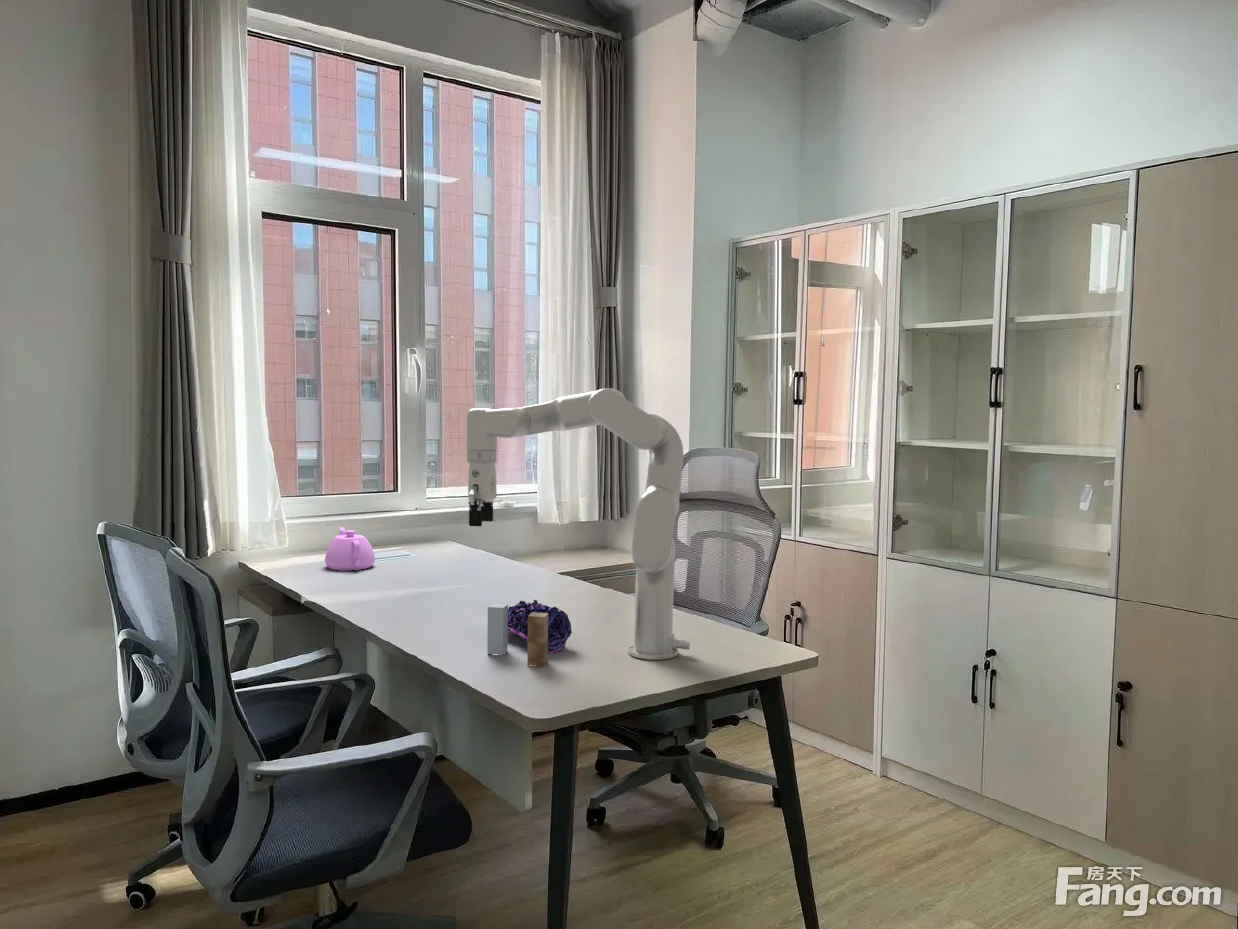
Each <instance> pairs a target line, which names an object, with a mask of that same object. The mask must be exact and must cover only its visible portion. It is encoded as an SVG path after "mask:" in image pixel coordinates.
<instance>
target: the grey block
mask: <svg viewBox="0 0 1238 929" xmlns="http://www.w3.org/2000/svg"><path fill="white" fill-rule="evenodd" d="M508 610H509V604H506V603H491V604H490V605H489V606H487V636H486V639H487V642H486V643H487V645H486V648H487V649H486V650H487V652H486V654H498V655H503V654H504V653H506V652H507V651H508V650H509V649H508V645H509V644H508V642H509V639H508V636H509V631H508ZM507 653H508V652H507ZM507 653H506V654H507ZM504 655H505V654H504ZM504 655H503V656H504Z"/></svg>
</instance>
